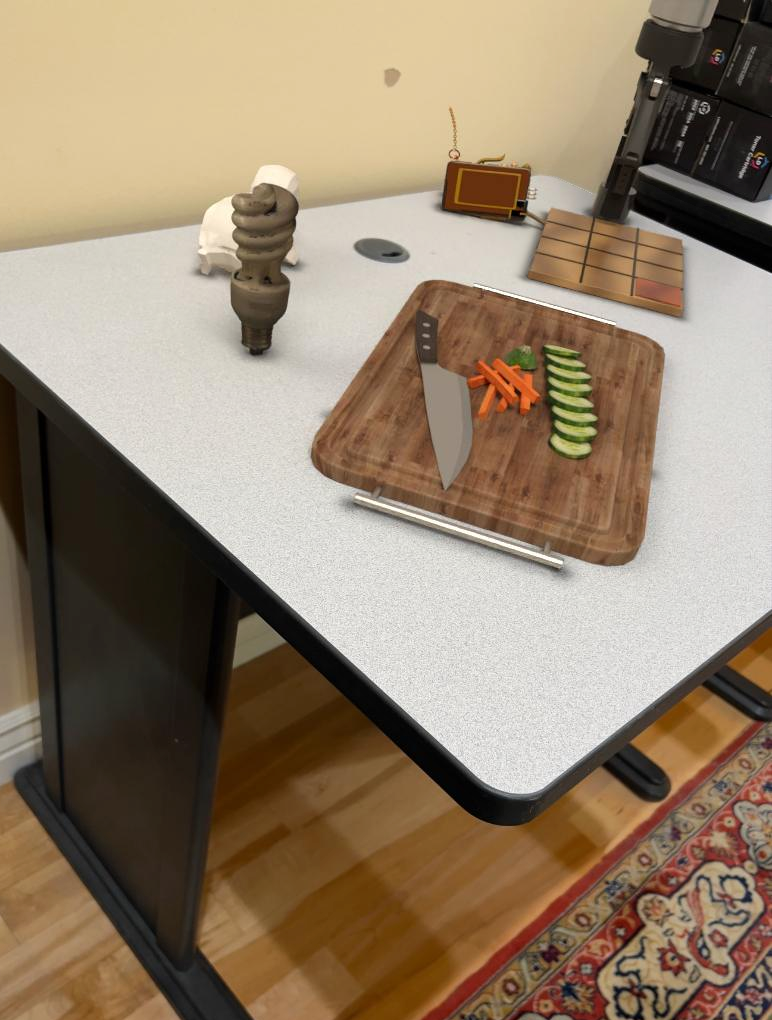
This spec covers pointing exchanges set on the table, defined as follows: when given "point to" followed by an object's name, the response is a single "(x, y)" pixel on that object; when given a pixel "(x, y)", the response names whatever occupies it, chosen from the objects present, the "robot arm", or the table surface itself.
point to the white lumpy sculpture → (219, 226)
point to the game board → (610, 261)
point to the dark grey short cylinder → (600, 199)
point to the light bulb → (261, 261)
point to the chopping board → (504, 423)
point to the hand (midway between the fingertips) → (611, 201)
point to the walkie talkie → (487, 188)
